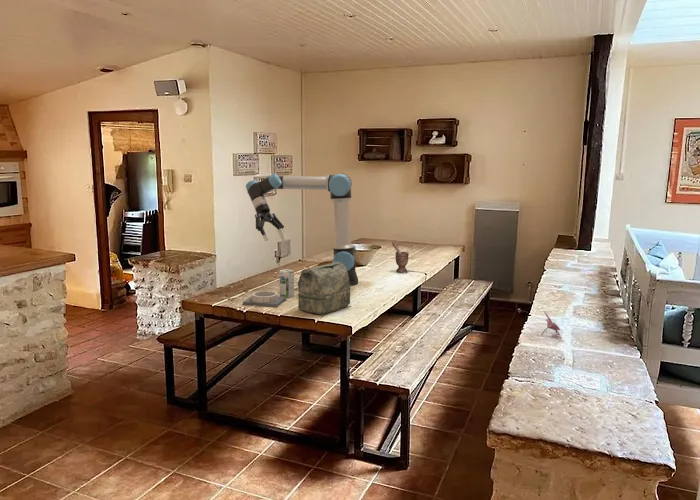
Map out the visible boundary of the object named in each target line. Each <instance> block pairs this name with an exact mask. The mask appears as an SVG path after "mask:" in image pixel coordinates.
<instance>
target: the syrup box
mask: <svg viewBox="0 0 700 500" xmlns="http://www.w3.org/2000/svg"><path fill="white" fill-rule="evenodd" d="M294 296H295V270H294V269H287V268H283V269H281V270H279V297H286V299H290V298H294Z"/></svg>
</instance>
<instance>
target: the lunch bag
mask: <svg viewBox="0 0 700 500" xmlns="http://www.w3.org/2000/svg"><path fill="white" fill-rule="evenodd" d="M297 289H298V293H297V294H298V295H297V296H298V297H297V298H298V303H297V304H298V306H297V307H298V310H299V311H301V312H306V313H311V314H316V315H320V316H321V315H326V314H329V313H332V312H334V311H335V312H336V311H339V310H340V309H342V308H346V307H348V306H350V305H351V285H350V283H349V277H348V273H347V270H346V267H345V266H344V264H342V263H341V262H333V261H332V262H330V263H327V264H322V265H317V266H315V267H308V268H303V269H302V270H301V272H300V275H299V279H298V282H297Z"/></svg>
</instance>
